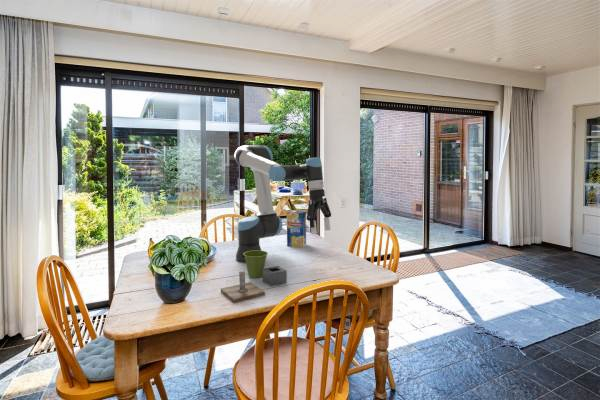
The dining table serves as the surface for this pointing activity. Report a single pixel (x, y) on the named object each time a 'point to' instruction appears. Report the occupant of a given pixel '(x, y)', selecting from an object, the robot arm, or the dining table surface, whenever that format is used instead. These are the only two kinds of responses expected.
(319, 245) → the dining table surface
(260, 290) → the stand
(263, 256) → the plant pot
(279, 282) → the grey square block
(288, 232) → the beverage box
